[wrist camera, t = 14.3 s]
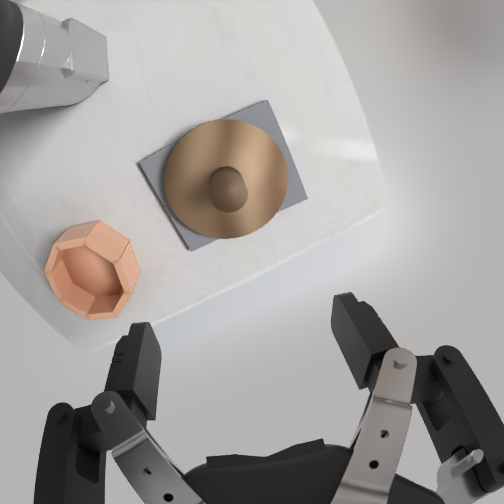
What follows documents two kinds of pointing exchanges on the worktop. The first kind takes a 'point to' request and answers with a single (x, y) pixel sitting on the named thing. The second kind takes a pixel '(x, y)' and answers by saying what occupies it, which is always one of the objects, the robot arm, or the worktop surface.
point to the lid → (226, 179)
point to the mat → (253, 115)
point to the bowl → (92, 270)
